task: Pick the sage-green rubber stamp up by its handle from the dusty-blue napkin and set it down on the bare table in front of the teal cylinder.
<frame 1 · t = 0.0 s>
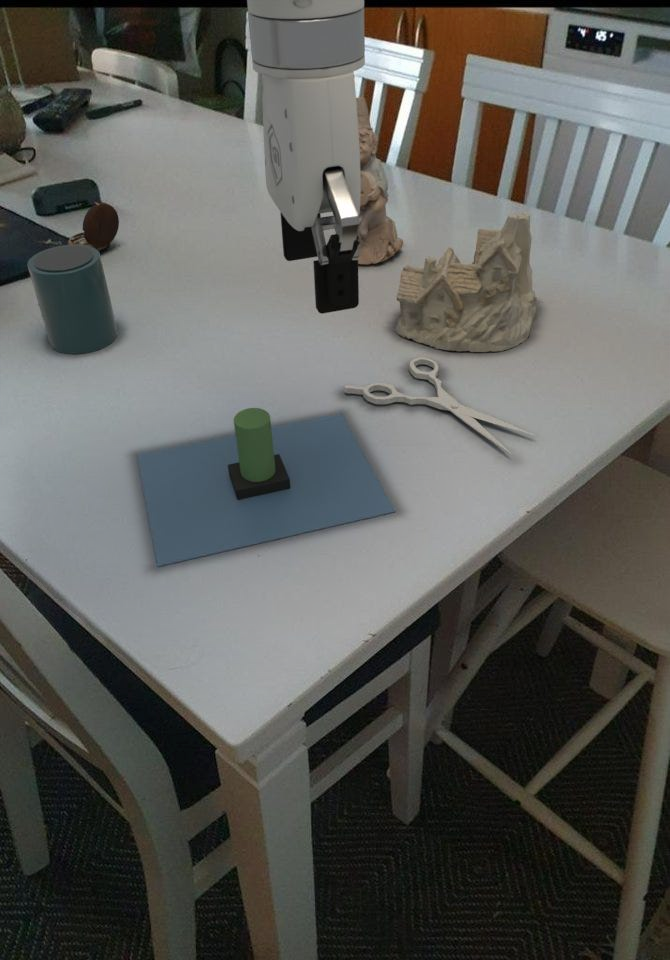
hand: (319, 281, 64), 19 cm above the table, tool pointing down, fingers open, 9 cm apart
teal cylinder: (84, 337, 98), on the table
scissors: (447, 410, 83), on the table
stamp: (259, 481, 75), resting on napkin
compass: (87, 252, 118), on the table
napkin: (259, 482, 75), on the table
ceramic cottage: (468, 320, 98), on the table
figurine: (370, 255, 114), on the table
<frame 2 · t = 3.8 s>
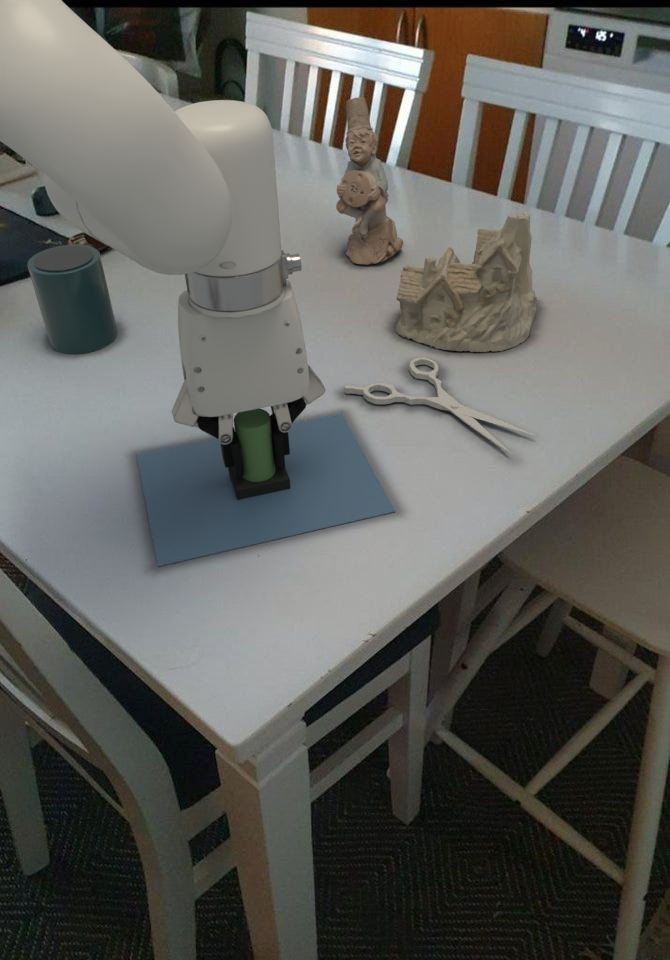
hand: (257, 463, 74), 2 cm above the table, tool pointing down, fingers closed on stamp, 3 cm apart
stamp: (259, 481, 75), resting on napkin, touching gripper
everything else where it was.
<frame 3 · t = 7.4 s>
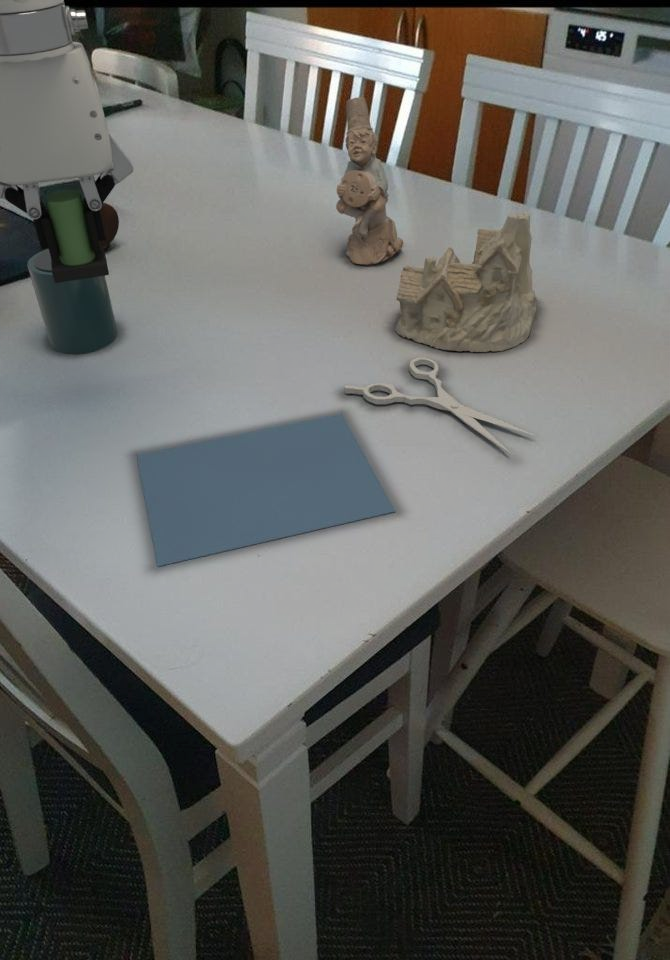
hand: (75, 249, 76), 17 cm above the table, tool pointing down, fingers closed on stamp, 3 cm apart
stamp: (81, 270, 77), point 15 cm above the table, touching gripper
everything else where it was.
when the fingers open (2 cm above the table, at t = 11.2 s): stamp stays where it is, on the table.
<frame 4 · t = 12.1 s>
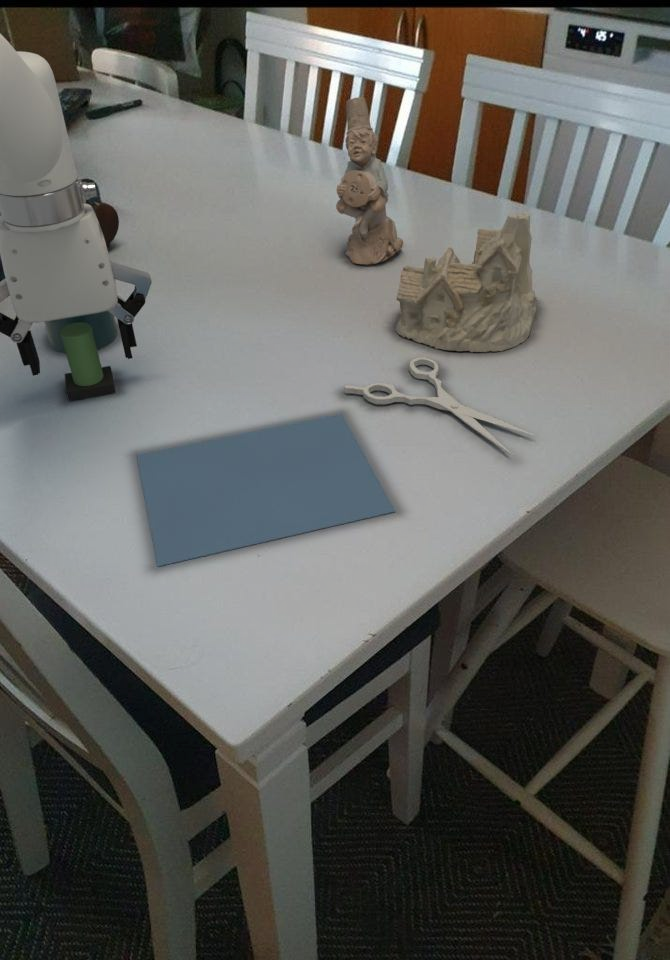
hand: (82, 360, 86), 4 cm above the table, tool pointing down, fingers open, 9 cm apart
stamp: (91, 387, 89), on the table
everything else where it was.
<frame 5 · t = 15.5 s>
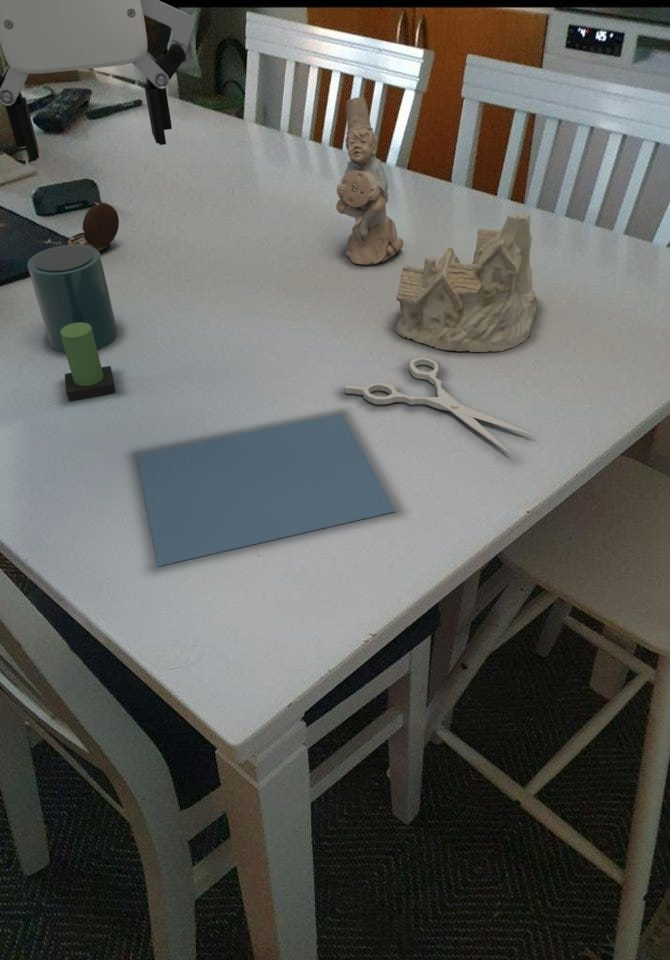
hand: (97, 147, 63), 28 cm above the table, tool pointing down, fingers open, 9 cm apart
nothing on the table moved.
at the end: stamp inside the target area on the table beside the teal cylinder (0.1 cm from its centre), on the table; stamp touching table; stamp tilted 0° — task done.
